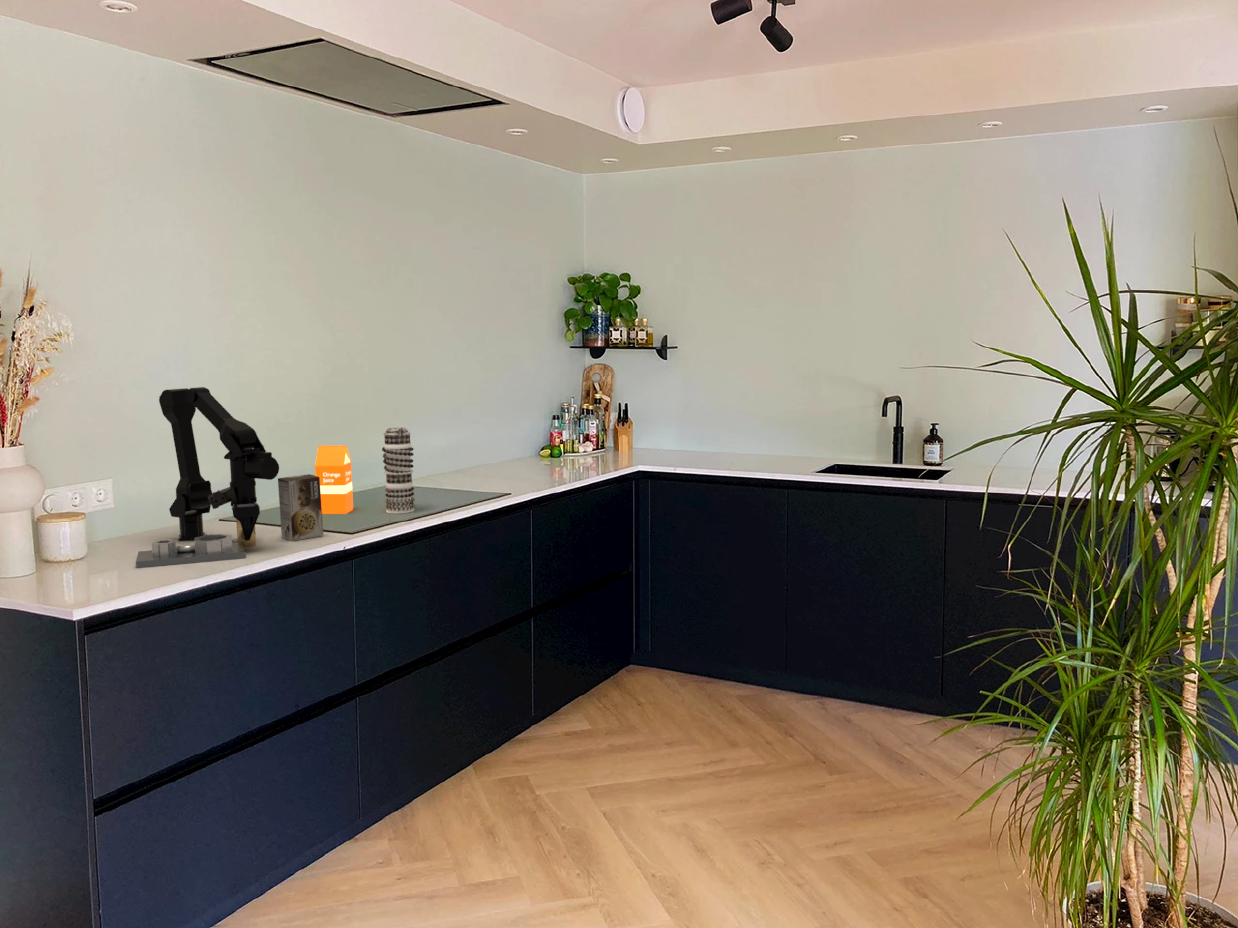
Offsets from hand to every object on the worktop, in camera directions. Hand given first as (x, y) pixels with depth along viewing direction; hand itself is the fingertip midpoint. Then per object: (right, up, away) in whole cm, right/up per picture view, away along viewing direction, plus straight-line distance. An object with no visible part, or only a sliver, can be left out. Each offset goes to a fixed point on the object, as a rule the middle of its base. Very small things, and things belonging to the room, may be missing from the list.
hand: (246, 537), depth 260 cm
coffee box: (+11, -1, +10) cm, 15 cm away
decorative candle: (+29, +4, +47) cm, 55 cm away
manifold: (-9, -4, -13) cm, 16 cm away
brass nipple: (0, -2, 0) cm, 2 cm away
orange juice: (+10, +4, +47) cm, 48 cm away
